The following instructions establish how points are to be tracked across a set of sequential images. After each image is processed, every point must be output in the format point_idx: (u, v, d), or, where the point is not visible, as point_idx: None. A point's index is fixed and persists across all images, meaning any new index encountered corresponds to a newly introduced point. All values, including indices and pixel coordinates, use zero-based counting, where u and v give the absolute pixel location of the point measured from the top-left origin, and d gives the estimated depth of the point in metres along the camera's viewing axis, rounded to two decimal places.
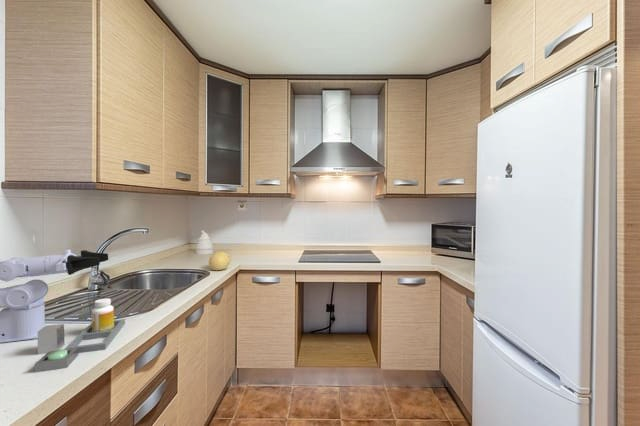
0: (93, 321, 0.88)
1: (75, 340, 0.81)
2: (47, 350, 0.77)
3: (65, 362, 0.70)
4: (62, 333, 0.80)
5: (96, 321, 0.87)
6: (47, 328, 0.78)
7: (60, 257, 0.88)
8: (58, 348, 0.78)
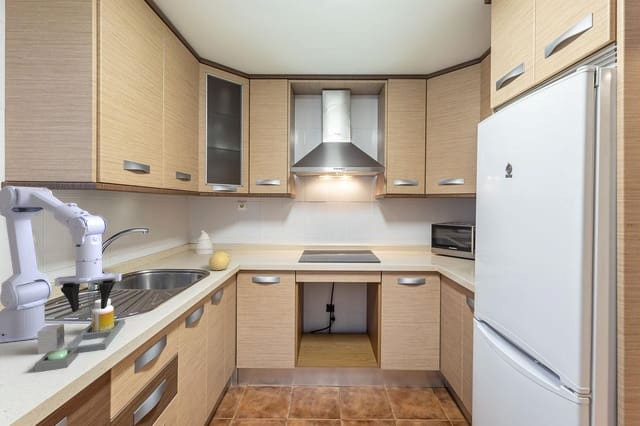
0: (93, 321, 0.88)
1: (75, 340, 0.81)
2: (47, 350, 0.77)
3: (65, 362, 0.70)
4: (62, 333, 0.80)
5: (96, 321, 0.87)
6: (47, 328, 0.78)
7: (77, 274, 0.78)
8: (58, 348, 0.78)
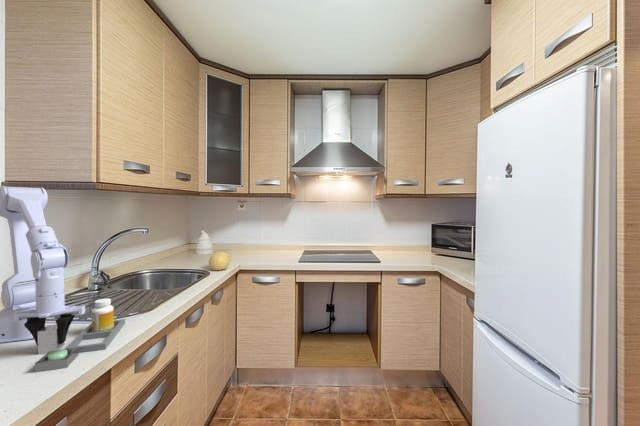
0: (93, 321, 0.88)
1: (75, 340, 0.81)
2: (47, 350, 0.77)
3: (65, 362, 0.70)
4: None
5: (96, 321, 0.87)
6: (47, 328, 0.78)
7: (37, 309, 0.76)
8: (58, 348, 0.78)
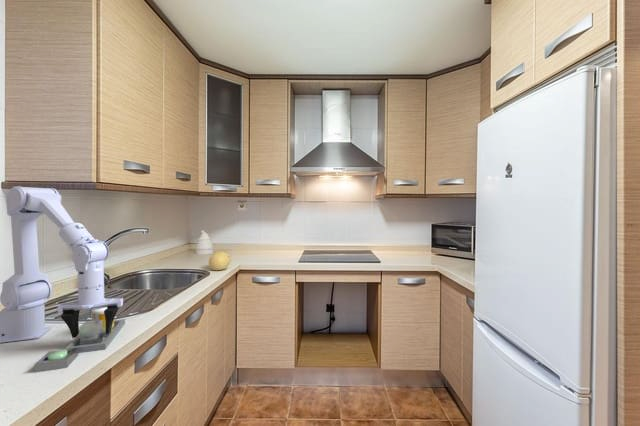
0: None
1: (75, 340, 0.81)
2: None
3: (65, 362, 0.70)
4: (101, 328, 0.83)
5: None
6: (88, 323, 0.81)
7: (80, 301, 0.79)
8: None
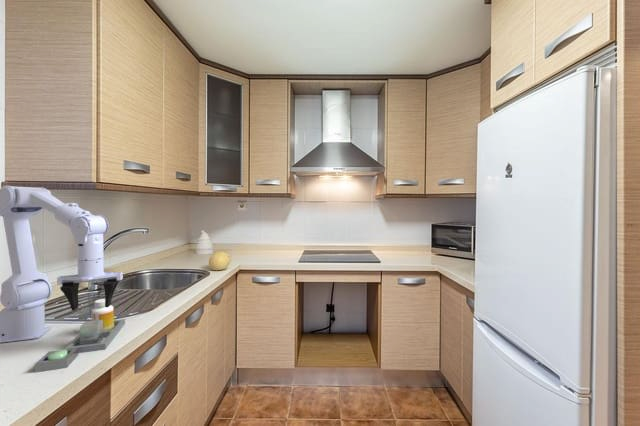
0: None
1: (75, 340, 0.81)
2: None
3: (65, 362, 0.70)
4: (101, 328, 0.83)
5: None
6: (88, 323, 0.81)
7: (79, 273, 0.79)
8: None
